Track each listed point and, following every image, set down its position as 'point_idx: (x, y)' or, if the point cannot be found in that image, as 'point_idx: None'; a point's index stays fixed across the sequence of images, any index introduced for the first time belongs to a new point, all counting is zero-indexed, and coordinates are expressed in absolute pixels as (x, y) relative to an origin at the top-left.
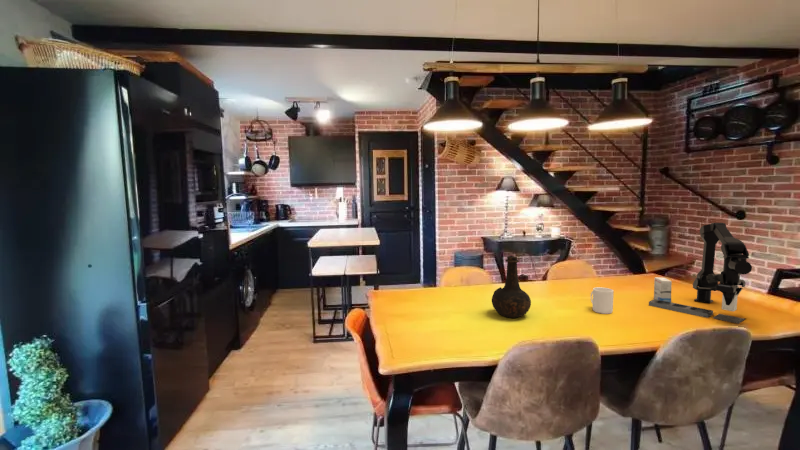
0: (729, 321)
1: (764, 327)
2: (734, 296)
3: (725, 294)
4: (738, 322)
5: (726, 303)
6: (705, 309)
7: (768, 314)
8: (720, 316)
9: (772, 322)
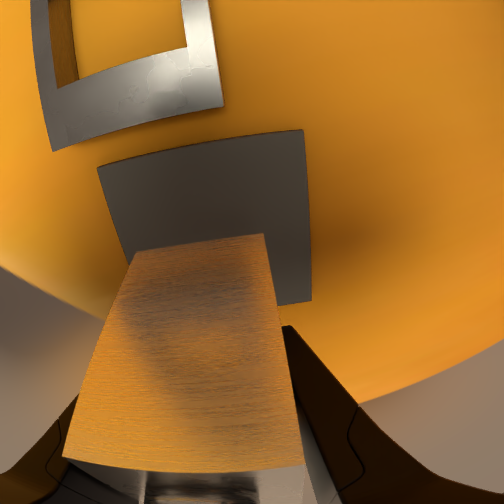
0: None
1: None
2: (135, 500)
3: (47, 477)
4: None
5: None
6: (192, 37)
7: (499, 296)
8: (198, 182)
9: (366, 365)
